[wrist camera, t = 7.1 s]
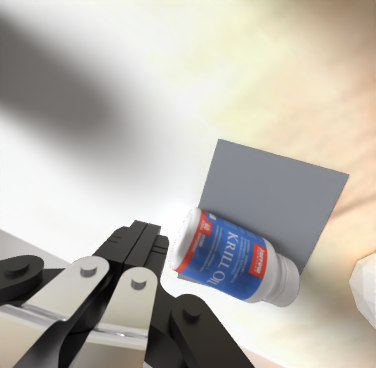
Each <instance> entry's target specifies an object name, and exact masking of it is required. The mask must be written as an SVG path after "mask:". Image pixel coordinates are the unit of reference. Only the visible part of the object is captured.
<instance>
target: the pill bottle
mask: <svg viewBox="0 0 376 368" xmlns="http://www.w3.org/2000/svg"><path fill="white" fill-rule="evenodd" d="M169 266H170V268H171V269H172V270H174V271H176V272H178V273H181V274H183V275H185V276H187V277H190V278H192V279H194V280H197V281H199V282H201V283H203V284H206V285H208V286H210V287H212V288H215V289H217V290H219V291H222V292H224V293H226V294H228V295H231V296H233V297H235V298H237V299H240V300H242V301H245V302H248V303H256V302H259V301H261V300H264V301H266V302H268V303H271V304H273V305H276V306H278V307H286V306H288V305H289V304H291V303H292V302H293V301H294V299H295V298H296V296H297V294H298V290H299V284H300V278H299V272H298V269H297V267H296V265H295V264H294V263H293V262H292V261H291V260H290V259H288V258H286V257H284V256H282V255H280V254H278V253H275V250H274V248H273V246H272V245H271V244H270V242H269V241H267V240H266V239H264V238H262V237H260V236H258V235H256V234H254V233H252V232H250V231H248V230H245V229H243V228H241V227H239V226H237V225H235V224H232V223H230V222H228V221H226V220H224V219H222V218H219V217H217V216H215V215H213V214H211V213H208V212H206V211H204V210H202V209H199V208H196V207H195V208H193V209H191V211H190V212H189V213H188V215H187V216H186V218H185V220H184V222H183V224H182V226H181V228H180V230H179V233H178V235H177V238H176V240H175V243H174V246H173V248H172V251H171V254H170V258H169Z"/></svg>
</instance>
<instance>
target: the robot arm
mask: <svg viewBox="0 0 376 368" xmlns="http://www.w3.org/2000/svg"><path fill="white" fill-rule="evenodd" d="M160 229H161V226H158V225H154V224H150V223H145V222H141V221H137V220H135V221H134V222H133V224H132V225H131V226H130V227H125V226H123V227H121V228H119V229H117V230H115V231H114V233H113V234H112V235H111V236H110V237H109V238H108V239H107V241H105V242H104V243H103V244H102V245H101V246H100V247H99V249H98V250H97V251H96V252H95V253H94V254H93V255H92V256H87V257H83V258H80V259H78V260H76V261H74V262H73V263H72V264H71V265H69V267H67V268H63V269H44V261H43V260H42V259H41V258H40V257H37V256H33V255H23V256H17V257H13V258H9V259H5V260H1V261H0V368H143V363H144V361H145V362H146V363H147V364H149V365H150V366H151V367H153V368H255V367H254V366H253V364H252V363H251V362H250V360H249V359H248V358H247V357H246V355H245V354H244V353H243V351H242V350H241V349H240V347H239V346H238V345H237V343H236V342H235V341H234V339H233V338H232V337H231V335H230V334H229V333H228V331H227V330H226V329H225V327H224V326H223V325H222V324H221V322H220V321H219V320H218V318H217V317H216V316H215V314H214V313H213V312H212V310H211V309H210V308H209V306H208V305H207V304H206V303H205V302H204V301H203V300H202V299H201V298H199V297H198V296H195V295H192V294H183V295H180V296H178V297H177V298H175V297H173V296H172V295H170V294H169V293H167V292H166V291H165V290H164V289H163V287H162V286H161V283H160V278H161V275H162V271H163V267H164V263H165V259H166V255H167V251H168V247H169V240H168V237H166V236H162V235H159V234H160ZM101 318H102V319H101Z"/></svg>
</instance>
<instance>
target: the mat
mask: <svg viewBox="0 0 376 368" xmlns="http://www.w3.org/2000/svg"><path fill="white" fill-rule="evenodd" d="M348 176H349V174H346V173H342V172H338V171H335V170H331V169H327V168H324V167H320V166H316V165H313V164H309V163H306V162H302V161H298V160H295V159H291V158H287V157H284V156H280V155H276V154H273V153H269V152H265V151H262V150H258V149H255V148H251V147H247V146H244V145H240V144H236V143H233V142H229V141H225V140H222V139H218V142H217V146H216V149H215V152H214V156H213V159H212V162H211V166H210V169H209V172H208V176H207V179H206V183H205V186H204V189H203V193H202V196H201V199H200V203H199V206H198V208H199V209H202V210H204V211H206V212H208V213H211V214H213V215H215V216H217V217H219V218H222V219H224V220H226V221H228V222H230V223H232V224H235V225H237V226H239V227H241V228H243V229H245V230H248V231H250V232H252V233H254V234H256V235H258V236H260V237H262V238H264V239H266V240H267V241H269V242H270V244H271V245H272V246H273V248H274V250H275V253H278V254H280V255H282V256H284V257H286V258H288V259H290V260H291V261H292V262H293V263H294V264H295V265H296V267H297V269H298V272H299V277H300V275H301V273H302V271H303V268H304V266H305V264H306V262H307V260H308V258H309V256H310V254H311V252H312V250H313V248H314V246H315V244H316V242H317V240H318V238H319V236H320V234H321V232H322V230H323V228H324V226H325V224H326V221H327V219H328V217H329V215H330V213H331V211H332V209H333V207H334V205H335V203H336V201H337V199H338V197H339V195H340V193H341V191H342V189H343V187H344V185H345V183H346V181H347V179H348ZM178 278H179V279H183V280H187V281H191V282H194V283H198V284H202V285H206V284H203V283H201V282H199V281H197V280H194V279H192V278H190V277H187V276H185V275H183V274H181V273H178ZM206 286H208V285H206ZM209 287H210V286H209ZM262 301H264V300H262ZM265 302H266V301H265Z"/></svg>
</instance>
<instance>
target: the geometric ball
mask: <svg viewBox="0 0 376 368" xmlns="http://www.w3.org/2000/svg"><path fill="white" fill-rule="evenodd" d="M349 284H350V287H351V290H352V293H353V296H354V299H355V303H356V306H357V309H358V310H359V311H360V313H361V314H362V315H363V316H364V317H365V318H366V319H367V320H368V321H369V323H370V324H371V325H372V326H373V327H374V328H375V329H376V252H375V253H373V254H371V255H369V256H367V257H365V258H363V259H361V260H359V261H357V263H356V265H355V268H354V270H353V273H352V275H351V278H350V280H349Z"/></svg>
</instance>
